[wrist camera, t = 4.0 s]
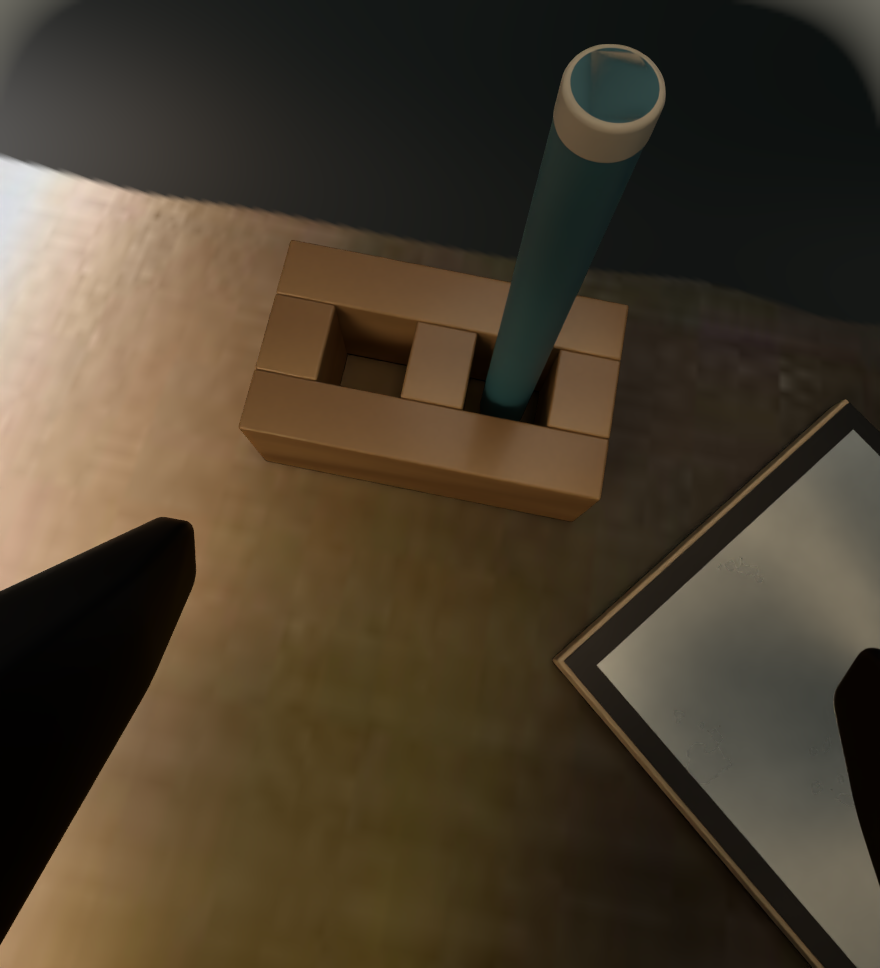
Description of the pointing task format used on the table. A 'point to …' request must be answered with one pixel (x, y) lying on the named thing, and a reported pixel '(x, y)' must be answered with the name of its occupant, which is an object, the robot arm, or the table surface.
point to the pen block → (429, 385)
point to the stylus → (571, 209)
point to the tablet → (760, 682)
